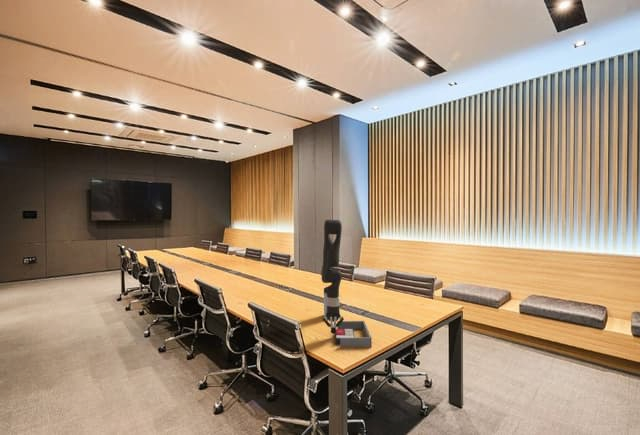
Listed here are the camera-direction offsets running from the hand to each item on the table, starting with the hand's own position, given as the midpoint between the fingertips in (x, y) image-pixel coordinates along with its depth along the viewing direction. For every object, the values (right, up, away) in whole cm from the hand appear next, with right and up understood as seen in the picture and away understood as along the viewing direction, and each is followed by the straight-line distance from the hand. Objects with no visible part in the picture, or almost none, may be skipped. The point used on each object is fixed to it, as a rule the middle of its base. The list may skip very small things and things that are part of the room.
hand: (333, 333), depth 176 cm
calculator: (+7, -3, -2) cm, 7 cm away
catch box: (+12, -2, 0) cm, 12 cm away
